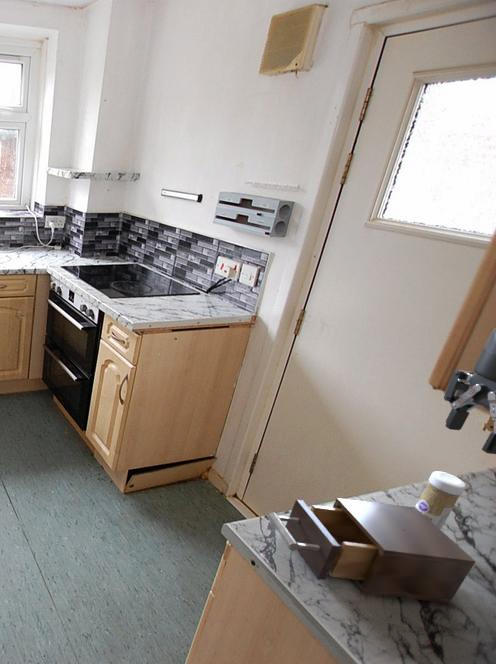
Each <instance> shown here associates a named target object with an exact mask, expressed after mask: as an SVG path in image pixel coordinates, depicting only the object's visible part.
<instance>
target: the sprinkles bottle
mask: <svg viewBox="0 0 496 664" xmlns="http://www.w3.org/2000/svg"><path fill="white" fill-rule="evenodd" d="M466 488H467V485H466V483H465V482H464V481H463V480H462V479H460V478H459V477H457V476H455V475H453V474H450V473H448V472H445V471H440V470H439V471H438V470H435V471H433V472H432V473H431V475H430V476H429V477H428V483H427V485H426V486H425V488H424V490H423V492H422V494H421V496H420V497H419V499H418V501H417V502H416V504H415V506H414V507H415V508H416V509H418V510H419V511H420V512H421V513H422V514H423V515H424V516H425V517H427V518H428V519H429V520H430V521H431V522H432V523H433V524H434V525H436V526H437V527H438V528H439V529H440V530H441V531H442V528H443V527H444V525H445V523H446V521H447V519H448V518H449V516H450V514H451V513H452V511H453V509H454V506H455V504H456V503H457V502H458V500H459V497H461V496H462V495H463V494H464V492H465V490H466Z"/></svg>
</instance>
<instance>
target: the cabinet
mask: <svg viewBox="0 0 496 664" xmlns="http://www.w3.org/2000/svg"><path fill="white" fill-rule="evenodd" d="M332 507H334V508H342V509H343V510H344V512H345V513H346V514H347V515H348V516H349V517H350V518H351V519H352V520H353V521H354V523H355V524H356V525H357V526H358V527H359V528H360V529H361V530H362V531H363V532H364V534H365V535H366V536H367V537H368V538H369V539H370V540H371V541H372V542H373V543H374V545H375V546H376V547H377V548H378V549H379V552H378V554H377V556H376V558H375V560H374V562H373V564H372V565H371V567H370V569H369V571H368V573H367V575H366V577H365V579H364V580H356V579H352V581H353V582H354V584H356V586H357V587H358V588H359V590H360V591H361V592H362V593H363V594H369V595H370V594H372V595H379V596H386V597H387V596H388V597H395V598H401V599H409V600H410V599H411V600H417V601H427V602H435V603H441V604H448V605H449V604H451V602H452V600H453V599H454V597H455V596H456V594H457V592H458V591H459V589H460V588H461V586H462V584H463V583H464V581H465V580H466V578H467V576H468V575H469V573H470V572H471V570H472V568H473V566H474V565H475V563H476V562H477V561H476V560H475V559H474V558H473V557H472V556H471V555H469V554H468V553H467V552H466V551H465V550H464V549H463V548H461V546H459V545H458V544H457V543H456V542H455V541H454V540H453V539H451V538H450V537H449V536H448V535H447V533H445V532H443V531H442V529H441V530H440V529H439V528H438V527H437V526H436V525H434V524H433V523H432V522H431V521H430V520H429V519H428V518H427V517H425V516H424V515H423V514H422V513H421V512H420V511H419V510H418V509H416V508H415V506H409V505H401V504H400V505H399V504H392V503H382V502H373V501H365V500H357V499H349V498H342V497H341V498H340V497H336V498H335V501H334V503H333V505H332Z"/></svg>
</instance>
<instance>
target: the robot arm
mask: <svg viewBox="0 0 496 664" xmlns="http://www.w3.org/2000/svg"><path fill="white" fill-rule="evenodd" d="M469 388H470V389H469ZM443 400H444V401H445V402H448V403H450V407H451V409H450V411H449V414H448V415H447V417H446V419H445V428H447V429H449V430H453V431H460V430H462V428H463V426H464V424H465V422H466V421H467V419H468V417H469V415H470V411H471V410H473V409H475V408H476V407H478V406H481V407H483V408H484V409H485V410H487V411H489V418H490V419H491V420H492V421H493V431H491V432H490V433H489V435H488V437H487V439H486V440H485V442H484V444H483V446H482V448H481V450H482V451H483V452H484V453H486V454H491V455H496V327H494V329H493V330H492V331H491V332H490V335H489V337H488V338H487V341H486V343H485V345H484V347H483V349H482V351H481V352H480V355H479V356H478V358H477V360H476V362H475V364H474V365H473V372H472V371H469V370H458V369H455V370H454V371H453V372H452V375H451V377H450V381H449V383H448V386H447V388H446V391H445V393H444V395H443Z"/></svg>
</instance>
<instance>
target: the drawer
mask: <svg viewBox="0 0 496 664" xmlns="http://www.w3.org/2000/svg"><path fill="white" fill-rule="evenodd" d="M267 517H268V519H269V520H270V522H271V523H272V525H273V526H274V528H275V529H276V530H277V532H278V534H279V535H280V537H281V539H282V540H283V541H284V542H285V544H286V545H287V547H288V548H289V550H291V551H297V552H298V554H299V556H300V557H301V558H302V560H303V561H304V563H305V564H306V565H307V567H308V568H309V570H310V571H311V573H312V574H313V576H314V577H315V578H316V580H318V581H326V578H327V577H328V575H329V576H330V577H333V578H340V579H349V580H353V579H356V580H364V579H365V577H366V575H367V573H368V571H369V569H370V567H371V565H372V564H373V562H374V560H375V558H376V556H377V554H378V552H379V549H378V548H377V547H376V546H375V545H374V543H373V542H372V541H371V540H370V539H369V538H368V537H367V536H366V535H365V534H364V532H363V531H362V530H361V529H360V528H359V527H358V526H357V525H356V524H355V523H354V521H353V520H352V519H351V518H350V517H349V516H348V515H347V514H346V513H345V512H344V510H343V509H342V508H334V507H333V506H326V505H325V506H324V505H317V504H316V505H315V504H312V505H311V507H309V506H308V505H307V503H305V501H304V500H303V499H295V502H294V504H293V507H292V509H291V512H290V514H289V516H284V515H278V514H277V513H276V512H274V511H272V512H269V513H268V514H267ZM284 522H286V523H285V524H284Z"/></svg>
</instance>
